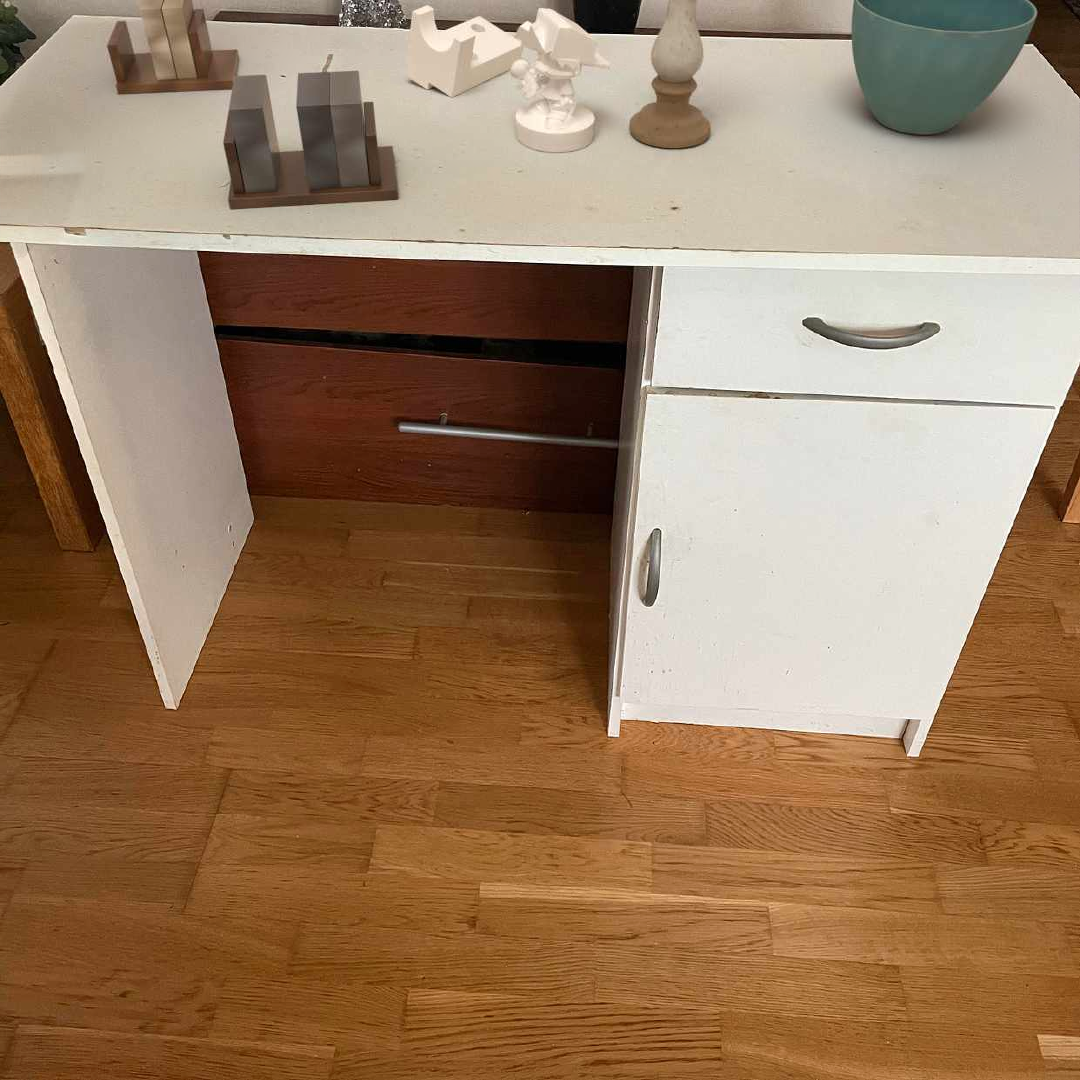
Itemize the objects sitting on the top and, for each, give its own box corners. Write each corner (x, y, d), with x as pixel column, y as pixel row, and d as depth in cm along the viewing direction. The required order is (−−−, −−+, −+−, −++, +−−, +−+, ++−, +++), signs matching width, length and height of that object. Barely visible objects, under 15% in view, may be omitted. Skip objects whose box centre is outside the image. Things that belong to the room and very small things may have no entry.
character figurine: (504, 124, 111) (502, 6, 103) (583, 113, 114) (588, -4, 105) (532, 157, 105) (533, 35, 97) (615, 144, 108) (623, 24, 100)
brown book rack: (118, 94, 116) (95, 13, 110) (129, 62, 123) (109, -16, 117) (233, 89, 118) (218, 9, 111) (239, 57, 125) (224, -19, 118)
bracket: (450, 105, 117) (460, 42, 111) (404, 74, 119) (412, 11, 113) (518, 71, 125) (531, 11, 119) (474, 43, 126) (485, -18, 120)
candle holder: (705, 117, 113) (732, -92, 99) (713, 150, 107) (742, -67, 93) (627, 115, 113) (642, -93, 99) (630, 148, 107) (647, -69, 93)
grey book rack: (230, 209, 97) (209, 114, 90) (236, 163, 104) (217, 72, 97) (398, 199, 98) (389, 105, 92) (393, 155, 105) (385, 65, 99)
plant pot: (802, 125, 112) (825, 5, 103) (870, 76, 122) (896, -36, 114) (962, 170, 104) (1001, 45, 96) (1020, 114, 115) (1060, -3, 106)
